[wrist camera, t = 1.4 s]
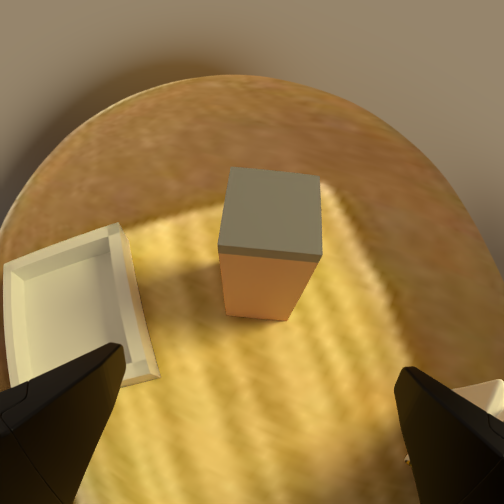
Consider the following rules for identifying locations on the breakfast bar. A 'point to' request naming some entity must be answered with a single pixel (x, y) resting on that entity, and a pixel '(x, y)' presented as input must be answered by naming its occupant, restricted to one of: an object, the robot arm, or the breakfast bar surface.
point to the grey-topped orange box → (268, 241)
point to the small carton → (483, 399)
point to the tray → (75, 306)
